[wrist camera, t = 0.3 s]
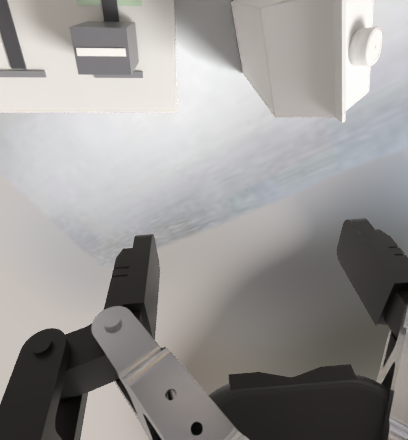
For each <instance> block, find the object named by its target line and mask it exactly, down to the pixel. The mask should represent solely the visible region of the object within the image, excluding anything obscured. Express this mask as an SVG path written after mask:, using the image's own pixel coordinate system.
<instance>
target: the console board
mask: <svg viewBox="0 0 408 440" xmlns="http://www.w3.org/2000/svg"><path fill="white" fill-rule="evenodd" d="M86 21H107V22H135V27H136V37H137V48H138V59H139V63H138V64H137V66H136V68H135V69H134V71H133V73H132V75H80V74H78V69H77V64H76V59H75V54H74V49H73V44H72V39H71V34H70V29H69V27H71V26H74V25H77V24H80V23H83V22H86ZM159 112H177V75H176V43H175V10H174V0H0V113H159Z"/></svg>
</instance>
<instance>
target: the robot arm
mask: <svg viewBox="0 0 408 440" xmlns="http://www.w3.org/2000/svg"><path fill="white" fill-rule="evenodd" d="M337 256H338V260H339V262H340V264H341V266H342V267H343V269H344V271H345V272H346V274H347V276H348V278H349V280H350V281H351V283H352V285H353V287H354V288H355V290H356V292H357V294H358V295H359V297H360V299H361V301H362V302H363V304H364V306H365V308H366V309H367V311H368V313H369V314H370V316H371V318H372V320H373V321H374V323H375V325H376V326H379V325H388V326H389V327H390V329H391V331H390V333H389V335H388V339H387V343H386V347H385V351H384V355H383V360H382V364H381V368H380V372H379V375H378V378H377V381H374V380H372V379H369V378H366V377H363V376H360V375H356V374H355V373H354V371H353V369H352V367H351V365H338V366H326V367H320V368H317V369H314V370H311V371H309V372H306V373H303V374H301V375H298V376H296V377H284V376H278V375H272V374H266V373H261V372H255V373H243V374H231V375H229V384H227V385H225V386H222V387H220V388H219V389H217V390H215V391H214V392H213V393H211V394H210V395H209V396H208V395H207V394H206V392H205V391H204V390H203V389H202V388H201V386H200V385H199V384H198V383H197V382H196V381H195V379H194V378H193V377H192V376H191V375H190V374H189V372H188V371H187V370H186V369H185V368H184V366H183V365H182V364H181V363H180V362H179V361H178V359H177V358H176V357H175V356H174V355H173V353H172V352H171V351H170V350H169V349H167V348H166V347H164V348H161V347H160V346H159V345H158V344H157V342H156V341H155V329H156V316H157V303H158V290H159V277H160V267H159V259H158V254H157V249H156V244H155V238H154V235H153V234H150V235H137V236H135V238H134V244H133V248H127V249H123V250H122V251H121V253H120V254H119V255H118V256H117V258H116V261H115V265H114V270H113V274H112V279H111V282H110V286H109V291H108V295H107V299H106V303H105V307H104V310H103V311H102V312H100V313H99V314H98V315H97V316H96V317H95V319H94V321H93V323H92V324H90V325H89V326H87V327H85V328H82V329H79V330H77V331H74V332H71V333H68V334H66V335H65V334H64V333H63V332H62V331H61V330H58V329H53V328H52V329H45V330H42V331H40V332H38V333H36V334H34V335H33V336H32V337H30V338H29V339H28V340H27V341H26V342H25V344H24V345H23V347H22V349H21V351H20V353H19V356H18V359H17V361H16V364H15V367H14V369H13V372H12V375H11V377H10V380H9V383H8V385H7V388H6V391H5V393H4V396H3V399H2V401H1V404H0V440H80V437H81V431H82V425H83V419H84V413H85V407H86V401H87V396H88V392H89V391H92V390H94V389H96V388H99V387H101V386H104V385H106V384H108V383H111V382H113V381H114V382H115V383H116V385H117V386H118V388H119V389H120V391H121V393H122V394H123V396H124V398H125V399H126V401H127V402H128V404H129V405H130V407H131V408H132V410H133V412H134V413H135V415H136V416H137V418H138V420H139V421H140V423H141V425H142V427H143V429H144V431H145V433H146V434H147V436H148V438H149V439H150V440H408V258H407V256H406V255H404V252H403V251H402V250H401V249H400V248H398V245H397V244H396V243H395V242H394V241H393V239H392V238H391V237H390V236H388V235H387V234H385V233H383V232H382V231H381V230H375V229H374V228H373V227H372V225H371V224H370V223H369V221H368V220H367V219H365V218H364V219H350V220H345V222H344V224H343V227H342V231H341V235H340V239H339V243H338V246H337Z"/></svg>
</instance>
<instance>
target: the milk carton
mask: <svg viewBox="0 0 408 440" xmlns="http://www.w3.org/2000/svg"><path fill="white" fill-rule="evenodd" d="M373 3H374V0H234V1H232V2H231V7H232V13H233V18H234V24H235V30H236V36H237V41H238V47H239V53H240V59H241V64H242V70H243V74H244V76H245V77H246V78H247V80H248V81H249V82H250V84H251V85H252V86H253V88H254V89H255V90H256V92H257V93H258V94H259V96H260V97H261V99H262V100H263V101H264V103H265V104H266V105H267V107H268V108H269V109H270V111H271V112H272V113H273V115H274V116H275V117H325V118H337V119H338V120H340V121H341V122H342V123H343V122H345V120H346V110H347V109H349V108H350V107H351V106H352V105H353V104H355V103H356V102H357V101H358V100H360V99H361V98H362V97H363V96H364V95H366V94H367V93H368V92H369V84H370V67H371V66H372V65H374V64H375V63H376V61H377V60H378V58H379V56H380V52H381V48H382V31H381V29H380V28H379V27H372V23H373Z"/></svg>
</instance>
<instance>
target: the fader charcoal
mask: <svg viewBox="0 0 408 440" xmlns="http://www.w3.org/2000/svg"><path fill="white" fill-rule="evenodd" d="M69 29H70V34H71V39H72V44H73V49H74V54H75V59H76V64H77V69H78V74H80V75H132V73H133V71H134V69H135V68H136V66H137V64H138V63H139V59H138V48H137V37H136V27H135V22H107V21H86V22H83V23H80V24H77V25H74V26H71V27H69Z"/></svg>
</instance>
